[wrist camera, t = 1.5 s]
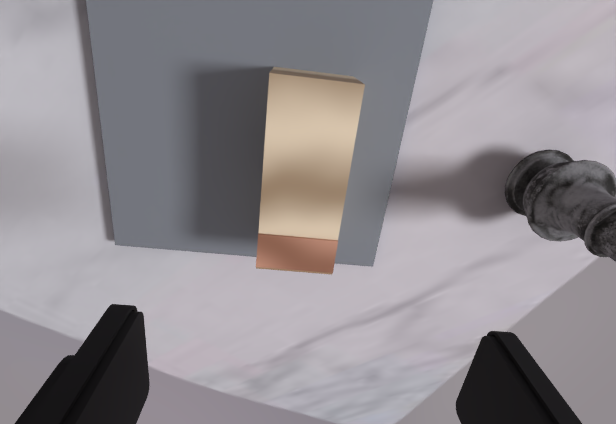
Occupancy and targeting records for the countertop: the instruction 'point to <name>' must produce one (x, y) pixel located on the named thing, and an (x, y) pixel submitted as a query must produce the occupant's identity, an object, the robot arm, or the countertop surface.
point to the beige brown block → (306, 168)
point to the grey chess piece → (566, 199)
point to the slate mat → (240, 110)
